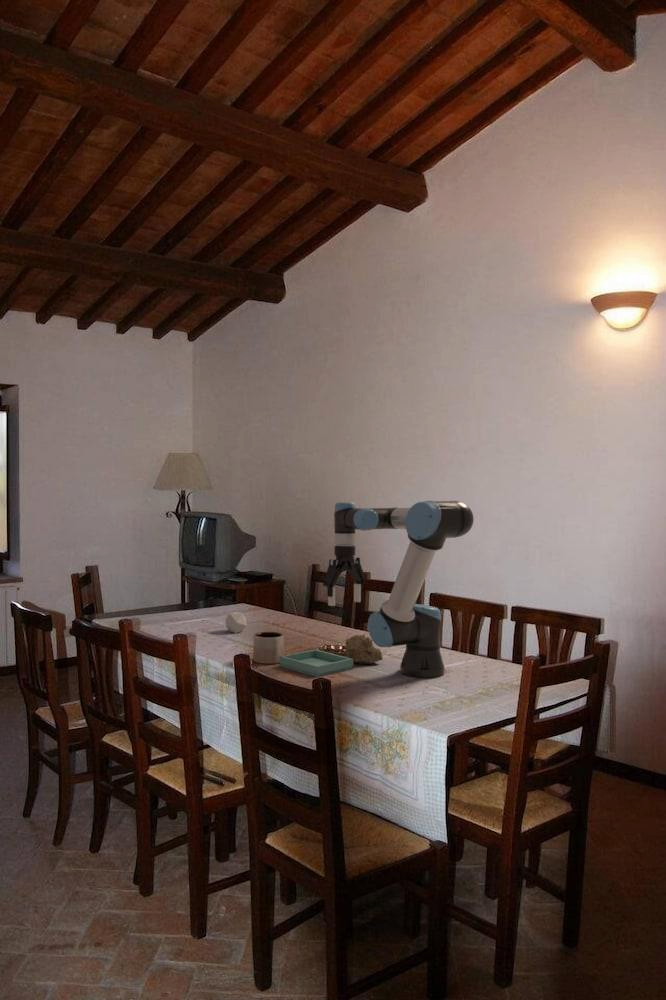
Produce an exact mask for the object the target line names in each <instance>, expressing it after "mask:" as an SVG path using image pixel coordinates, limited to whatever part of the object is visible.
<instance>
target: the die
mask: <svg viewBox="0 0 666 1000" xmlns="http://www.w3.org/2000/svg"><path fill="white" fill-rule="evenodd" d="M224 621H225V627H226V629H227V630H228V631H229V632H230V633H234V634H238V632H239V633H241V632H243V631H244V629H246V627H247V619H246V616H245V615H244V613H242V612H239V611H233V612H231V613H229V614H228V616H226V618H225V620H224Z"/></svg>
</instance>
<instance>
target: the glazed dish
mask: <svg viewBox="0 0 666 1000" xmlns="http://www.w3.org/2000/svg"><path fill="white" fill-rule="evenodd" d="M279 667H281V668H284V669H288V670H291V671H294V672H298V673H300V674H304V675H308V676H312V677H315V678H320V677H325V676H329V675H333V674H337V673H342V672H346V670H347V671H350V669H351V670H354V663H353V659H351V658H347V656H343V655H338V654H335V653H331V652H326V651H322V650H319V649H312V650H306V651H301V652H297V653H291V654H286V655H285V654H284V656H280V663H279Z"/></svg>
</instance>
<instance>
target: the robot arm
mask: <svg viewBox="0 0 666 1000" xmlns="http://www.w3.org/2000/svg"><path fill="white" fill-rule="evenodd" d="M333 514H334V515H333V516H334V517H333V519H334V523H333V525H334V544H335V546H334V554H333V555H334V556H335V559H333V558H330V559H329V562H328V568H327V571H326V573H325V577H324V579H323V582H322V586H324V587H325V588H327V589H326V590H327V591H326V592H327V598H328V599H327V606H330V607H335V606H336V587H334V586H335V584H337V581H338V579H339V578H340V576H341V574H342V573H343V572H348V573H349V575H350V576H351V578H352V579H353V581H354V582H355V583H354V584H353V602H354V603H361V602H362V601H361V600H362V596H361V595H362V589H363V588H362V587H363V586H362V585H364V584H365V582H366V580H367V579H366V577H365V573H364V571H363V567H362V564H361V559H360V557H358V556H356V546H355V544H356V530H360V531H363V532H364V531H372V530H406V532H407V538H408V540H409V544H408V545H407V550H406V552H405V555H404V557H403V560H402V562H401V566H400V568H399V571H398V574H397V575H396V579H395V581H394V583H393V587H392V589H391V593H390V594H389V598H388V599H386V600H384V601H383V602H382V603H381V606H380V608H379V611H375V612H373V613H370V614H369V617H368V619H367V630H368V633H369V636H370V637H369V638H370V639H371V640H372V641H373V642H372V643H373V644H375V645H376V646H377V647H379V648H391V647H397V646H398V647H399V646H405V650H404V654H403V657H402V659H401V662H400V665H399V670H400V671H399V672H400V673H401V674H403V675H405V676H408V675H409V676H408V677H414V678H437V677H438V678H439V677H442V676H443V675H445V671H446V670H445V667H446V666H445V665H444V661H443V658H442V654H441V653H442V652H441V628H442V627H441V626H442V619H441V618H442V616H441V615H442V614H441V609H439V607H436V606H431V605H426V604H420V603H419V604H418V603H417V600H418V597H419V595H420V594H421V593H420V592H421V590H422V587H423V585H424V582H425V579H426V577H427V574H428V573H429V569H430V568H431V564H432V561H433V559H434V556H435V554H436V552H437V551H440V550H442V549H443V548H444V545H445V543H446V542H445V541H446V540H447V539H452V538H460V537H463V536H465V535H467V534H468V533H469V532H470V531H471V529H472V527H473V526H474V525H473V524H474V519H475V517H474V513H473V511H472V509H471V508H470V507H469V506H468V505H467V504H465V503H464V502H462V501H458V500H443V501H441V500H439V501H437V500H425V501H419V502H416V503H414V504H413V505H412V506H411V507H384V508H383V507H380V508H379V507H378V508H377V507H374V508H373V507H372V508H368V507H367V508H365V507H362V508H360V507H359V508H357V507H356V503H355V502H353V501H351V502H349V501H347V502H346V501H341V502H339V501H338V502H336V503H335V504H334V512H333Z"/></svg>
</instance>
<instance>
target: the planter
mask: <svg viewBox="0 0 666 1000" xmlns="http://www.w3.org/2000/svg"><path fill="white" fill-rule="evenodd" d="M284 636H285V635H284V633H281V632H277V631H261V632H260V631H259V632H255V633H254V634H253V644H252V645H253V646H252V647H253V648H252V649H253V650H252V660H253V662H254V663H257V664H260V665H277V664H280V656H285V653H284V650H285V646H284V644H285V643H284V642H285V641H284V640H285V639H284V638H285V637H284Z"/></svg>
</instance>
